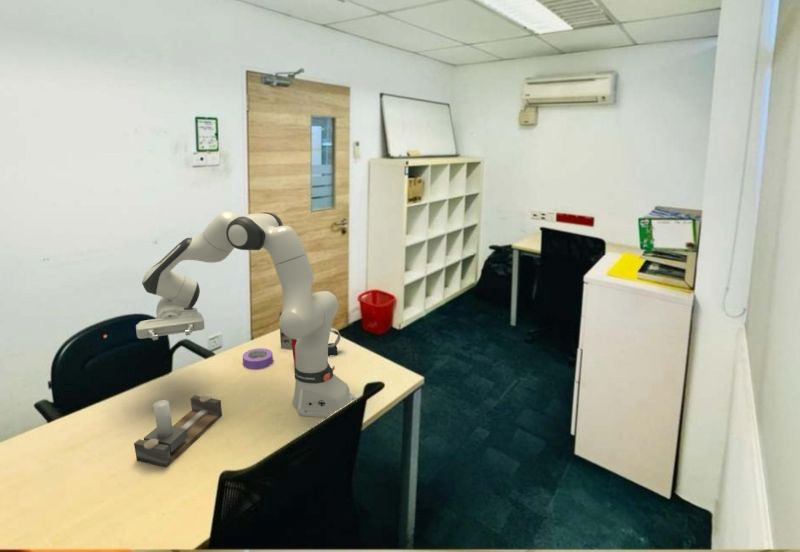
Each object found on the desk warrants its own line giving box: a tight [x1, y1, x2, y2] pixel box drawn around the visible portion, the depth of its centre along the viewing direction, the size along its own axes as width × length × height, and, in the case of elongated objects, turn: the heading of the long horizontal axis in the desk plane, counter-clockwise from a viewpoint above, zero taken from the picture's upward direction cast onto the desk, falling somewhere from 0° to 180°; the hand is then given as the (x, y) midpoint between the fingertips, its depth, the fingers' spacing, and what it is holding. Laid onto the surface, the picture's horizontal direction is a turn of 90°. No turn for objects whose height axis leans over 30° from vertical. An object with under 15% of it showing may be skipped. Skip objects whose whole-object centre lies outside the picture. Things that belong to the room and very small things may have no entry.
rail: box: [133, 394, 223, 469], centre depth 143 cm, size 28×10×7 cm, turn 166°
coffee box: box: [278, 311, 292, 350], centre depth 204 cm, size 9×6×16 cm
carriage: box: [143, 399, 188, 452], centre depth 135 cm, size 7×9×13 cm
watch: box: [328, 327, 341, 357], centre depth 198 cm, size 6×8×11 cm
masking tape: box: [242, 347, 274, 370], centre depth 189 cm, size 12×12×4 cm
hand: (171, 335), depth 148 cm, fingers open, 8 cm apart
